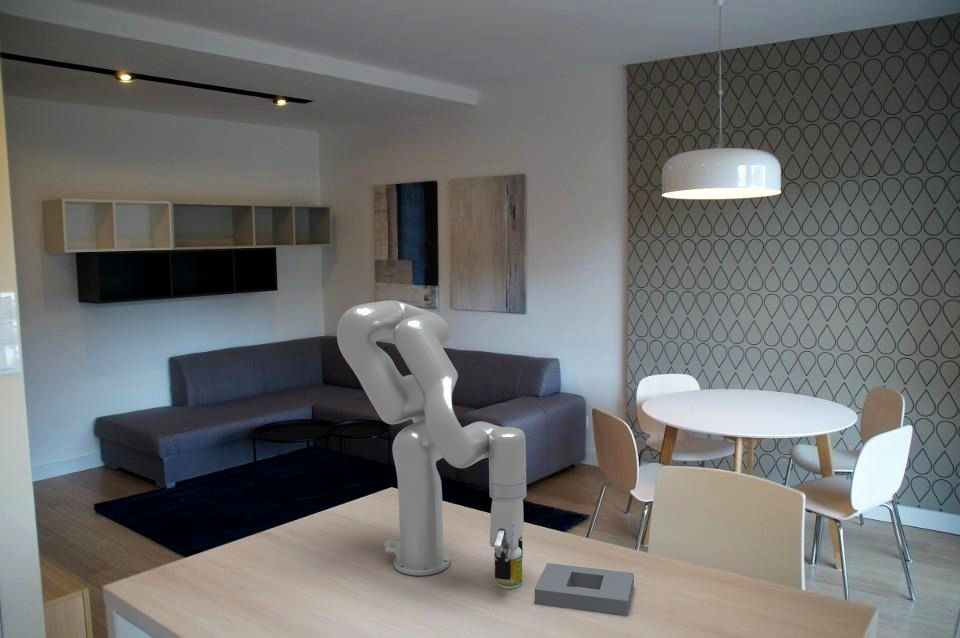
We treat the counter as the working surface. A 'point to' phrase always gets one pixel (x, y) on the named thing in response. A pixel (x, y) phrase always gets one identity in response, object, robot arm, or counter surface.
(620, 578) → the socket block
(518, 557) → the supplement bottle
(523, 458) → the robot arm
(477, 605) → the counter surface
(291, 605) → the counter surface
